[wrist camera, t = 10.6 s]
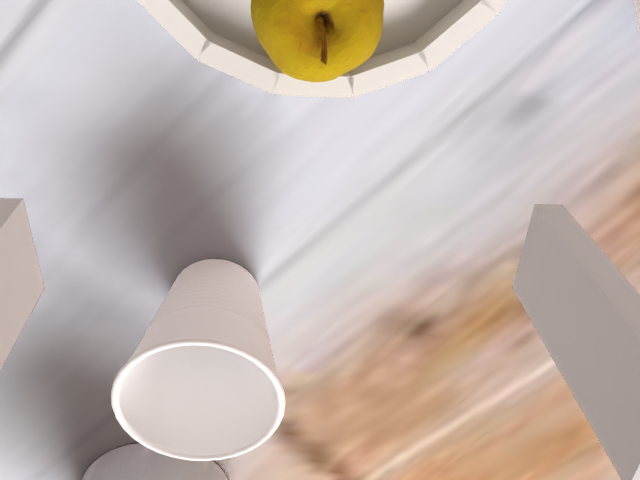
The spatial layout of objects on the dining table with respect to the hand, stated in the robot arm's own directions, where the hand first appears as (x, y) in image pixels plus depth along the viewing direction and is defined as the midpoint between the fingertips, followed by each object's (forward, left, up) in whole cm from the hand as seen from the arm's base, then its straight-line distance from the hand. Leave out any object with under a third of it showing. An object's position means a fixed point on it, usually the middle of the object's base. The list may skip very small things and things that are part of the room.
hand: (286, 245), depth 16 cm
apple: (+2, +3, -21) cm, 21 cm away
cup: (-4, -18, -22) cm, 29 cm away
